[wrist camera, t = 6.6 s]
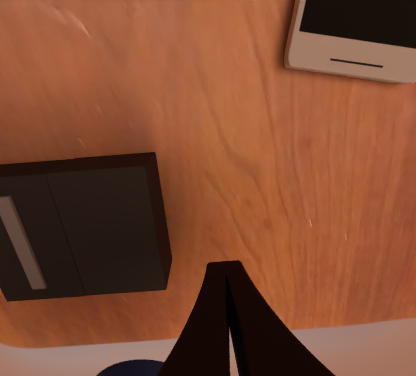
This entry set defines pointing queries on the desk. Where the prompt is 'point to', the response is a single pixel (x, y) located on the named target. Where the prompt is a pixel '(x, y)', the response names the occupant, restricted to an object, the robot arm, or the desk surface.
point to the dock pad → (34, 237)
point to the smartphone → (354, 39)
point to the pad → (114, 221)
